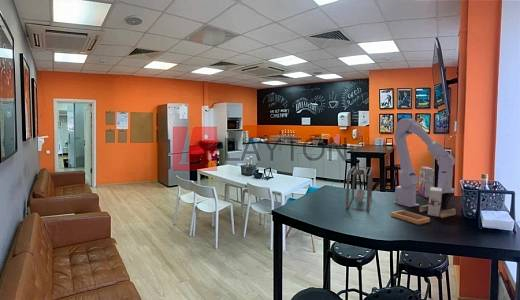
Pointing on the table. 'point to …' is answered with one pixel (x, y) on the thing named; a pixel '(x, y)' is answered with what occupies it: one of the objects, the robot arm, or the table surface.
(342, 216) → the table surface
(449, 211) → the birch tunnel
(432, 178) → the candy bar box
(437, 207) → the ink box
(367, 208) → the newton's cradle
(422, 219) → the tan wooden flat tray
